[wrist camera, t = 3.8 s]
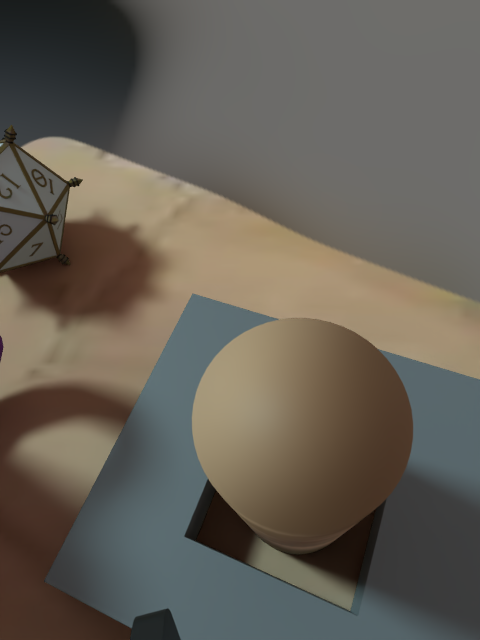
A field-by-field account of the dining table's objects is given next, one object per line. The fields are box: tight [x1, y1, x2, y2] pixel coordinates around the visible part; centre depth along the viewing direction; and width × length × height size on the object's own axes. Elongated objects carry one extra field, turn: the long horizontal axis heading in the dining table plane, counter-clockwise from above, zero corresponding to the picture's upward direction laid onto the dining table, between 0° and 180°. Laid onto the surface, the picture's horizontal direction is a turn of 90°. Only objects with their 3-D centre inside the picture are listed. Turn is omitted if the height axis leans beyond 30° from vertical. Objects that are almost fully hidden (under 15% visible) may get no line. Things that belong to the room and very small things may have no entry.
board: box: [44, 294, 480, 640], centre depth 20 cm, size 16×14×2 cm
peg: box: [192, 318, 413, 554], centre depth 16 cm, size 5×5×12 cm
